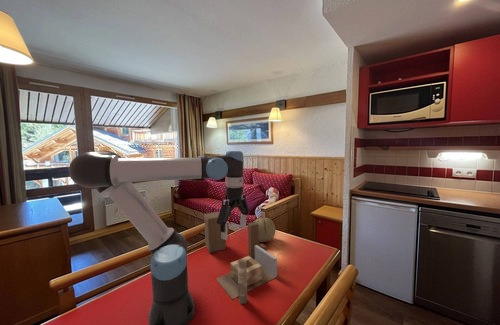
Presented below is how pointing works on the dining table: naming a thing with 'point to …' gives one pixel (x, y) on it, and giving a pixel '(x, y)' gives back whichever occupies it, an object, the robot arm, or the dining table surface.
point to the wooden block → (254, 238)
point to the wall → (266, 261)
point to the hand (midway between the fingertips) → (234, 233)
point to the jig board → (233, 286)
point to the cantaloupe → (265, 229)
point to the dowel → (242, 281)
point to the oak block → (248, 270)
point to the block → (213, 233)
